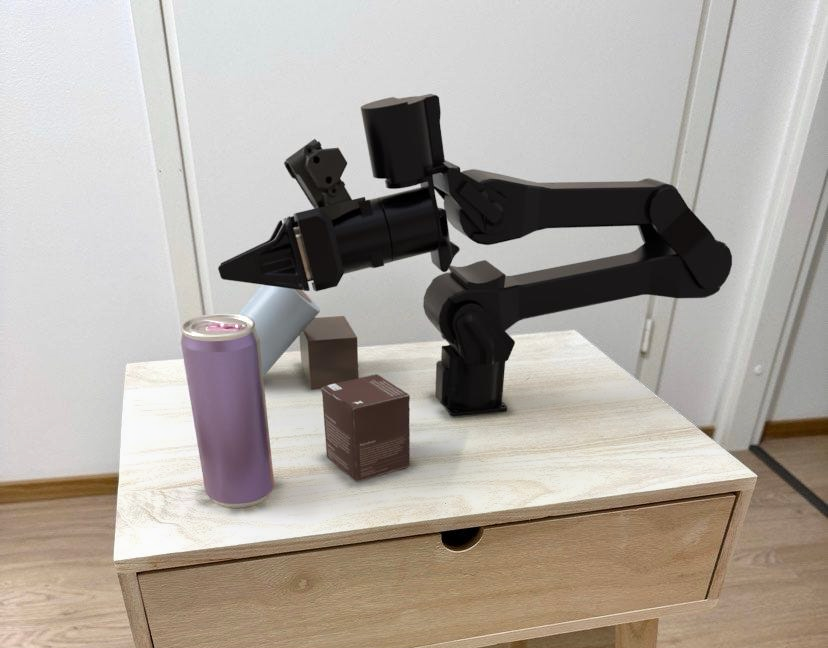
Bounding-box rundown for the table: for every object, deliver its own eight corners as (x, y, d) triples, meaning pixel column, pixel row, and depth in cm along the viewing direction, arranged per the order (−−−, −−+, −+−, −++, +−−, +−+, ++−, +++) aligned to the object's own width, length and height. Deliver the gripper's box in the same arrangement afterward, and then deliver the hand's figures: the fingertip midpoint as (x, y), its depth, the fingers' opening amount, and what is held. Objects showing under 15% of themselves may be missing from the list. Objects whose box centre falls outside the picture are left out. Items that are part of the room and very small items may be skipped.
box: (411, 468, 71) (412, 394, 67) (354, 484, 68) (352, 408, 64) (378, 443, 75) (377, 372, 71) (324, 457, 72) (320, 385, 68)
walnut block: (346, 361, 94) (344, 315, 91) (358, 385, 87) (357, 337, 84) (301, 364, 93) (297, 318, 89) (310, 389, 86) (307, 340, 83)
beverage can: (260, 514, 64) (239, 339, 55) (194, 505, 65) (164, 333, 56) (284, 480, 69) (268, 315, 60) (222, 473, 70) (198, 310, 61)
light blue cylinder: (319, 365, 92) (312, 261, 85) (327, 384, 87) (321, 276, 80) (217, 373, 90) (202, 267, 83) (219, 394, 85) (203, 282, 78)
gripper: (348, 147, 76) (195, 182, 74) (380, 120, 59) (184, 165, 58) (374, 262, 81) (231, 298, 79) (410, 268, 64) (230, 313, 62)
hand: (220, 271), depth 69 cm, fingers open, 9 cm apart
